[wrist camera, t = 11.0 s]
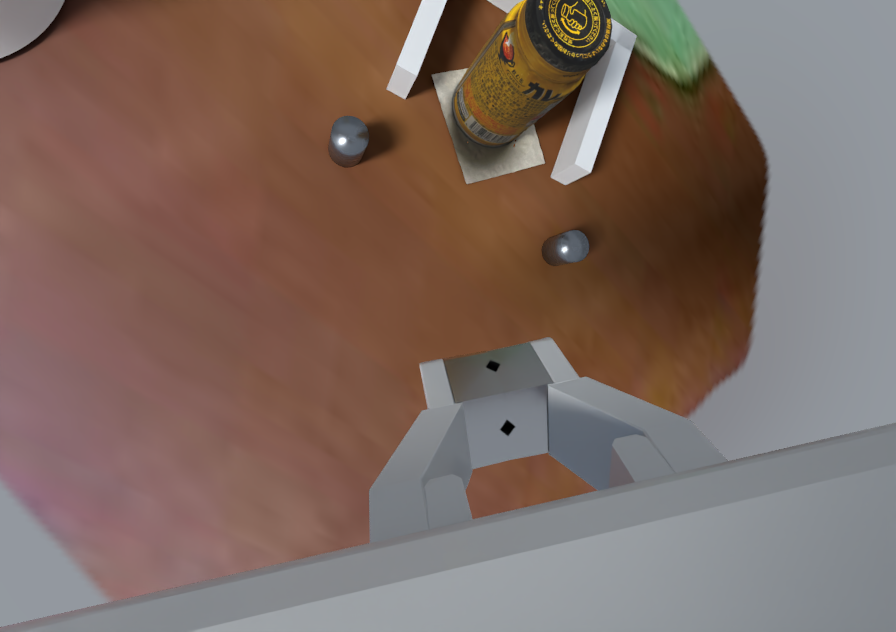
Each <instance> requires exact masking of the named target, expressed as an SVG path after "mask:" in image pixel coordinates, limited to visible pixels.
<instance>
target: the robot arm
mask: <svg viewBox="0 0 896 632" xmlns="http://www.w3.org/2000/svg"><path fill="white" fill-rule="evenodd" d="M63 3H64V0H0V58H2V57H5V56H7V55H10V54H12V53H14V52H16V51H18V50H19V49H21V48H23V47H25V46H26V45H28V44H29V43H30V42H32V41H33V40H35V39H36V38H37V37H38V36H39V35H40V34H42V33H43V32H44V31H45V30H46V29H47V27H48V26H49V25H50V24H51V23H52V21H53V20H54V19H55V17H56V16H57V14H58V12H59V11H60V9H61V7H62V5H63ZM420 370H421V376H422V381H423V386H424V392H425V397H426V402H427V408H428V410H423V411H421V413H420V414H419V416H418V417H417V419H416V420H415V422H414V423H413V425H412V426H411V428H410V429H409V431H408V432H407V434H406V435H405V437H404V438H403V440H402V442H401V443H400V445H399V446H398V448H397V449H396V451H395V452H394V454H393V455H392V457H391V458H390V460H389V461H388V463H387V464H386V466H385V467H384V469H383V470H382V472H381V473H380V475H379V476H378V478H377V479H376V481H375V482H374V484H373V485H372V487H371V488H370V490H369V511H370V543H368V544H363V545H359V546H355V547H350V548H346V549H341V550H337V551H333V552H328V553H324V554H320V555H315V556H311V557H306V558H302V559H298V560H293V561H289V562H285V563H280V564H276V565H271V566H267V567H263V568H258V569H254V570H250V571H245V572H241V573H236V574H232V575H228V576H223V577H219V578H215V579H210V580H206V581H201V582H197V583H193V584H188V585H184V586H179V587H175V588H171V589H166V590H162V591H157V592H153V593H149V594H144V595H140V596H135V597H131V598H127V599H122V600H118V601H114V602H109V603H105V604H100V605H96V606H92V607H87V608H83V609H79V610H74V611H70V612H65V613H61V614H57V615H52V616H48V617H43V618H39V619H35V620H30V621H26V622H21V623H17V624H13V625H8V626H4V627H0V632H896V423H892V424H888V425H884V426H879V427H875V428H871V429H866V430H862V431H857V432H853V433H849V434H844V435H840V436H836V437H831V438H827V439H822V440H819V441H814V442H809V443H805V444H801V445H797V446H792V447H788V448H784V449H779V450H775V451H771V452H767V453H763V454H758V455H753V456H749V457H744V458H740V459H736V460H731V461H728V460H727V459H726V458H725V457H724V456H723V455H722V454H721V453H720V452H719V450H718V449H717V448H716V447H715V446H714V445H713V444H712V443H711V442H710V441H709V440H708V438H707V437H706V436H705V435H704V434H703V433H702V432H701V431H700V430H699V429H698V428H697V426H696V425H695V424H694V423H693V422H692V421H691V420H688V419H686V418H684V417H681V416H679V415H676V414H674V413H672V412H669V411H667V410H665V409H662V408H660V407H657V406H655V405H653V404H650V403H648V402H645V401H643V400H641V399H638V398H636V397H633V396H631V395H629V394H626V393H624V392H621V391H619V390H617V389H614V388H612V387H609V386H607V385H605V384H602V383H600V382H597V381H595V380H593V379H590V378H588V377H583V378H580V377H579V376H578V375H577V373H576V372H575V370H574V369H573V367H572V366H571V365H570V363H569V362H568V360H567V359H566V358H565V356H564V355H563V353H562V352H561V350H560V349H559V348H558V346H557V345H556V343H555V342H554V340H553V339H552V338H550V337H547V338H543V339H539V340H535V341H530V342H528V343H523V344H519V345H514V346H509V347H505V348H500V349H495V350H490V351H483V352H477V353H471V354H466V355H460V356H454V357H449V358H443V360H442V359H437V360H432V361H427V362H422V363H420ZM543 453H549V455H551V456H552V457H553V458H555V459H556V460H558V461H559V462H560V463H562V464H563V465H564V466H566V467H567V468H568V469H570V470H571V471H572V472H574V473H575V474H576V475H578V476H579V477H580V478H582V479H583V480H585V481H586V482H587V483H589V484H590V485H591V486H593V487H594V488H595V489H597V490H598V491H595V492H590V493H586V494H582V495H577V496H573V497H569V498H564V499H560V500H555V501H551V502H547V503H542V504H538V505H534V506H529V507H525V508H521V509H516V510H512V511H508V512H503V513H499V514H494V515H490V516H486V517H481V518H477V519H473V520H472V516H471V512H470V508H469V504H468V500H467V497H466V493H465V490H466V488H467V485H468V482H469V479H470V477H471V474H472V469H475V468H479V467H483V466H487V465H491V464H495V463H499V462H503V461H507V460H512V459H517V458H522V457H528V456H533V455H538V454H543Z"/></svg>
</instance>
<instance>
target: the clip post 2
mask: <svg viewBox="0 0 896 632" xmlns="http://www.w3.org/2000/svg"><path fill="white" fill-rule="evenodd" d="M588 251H589V242H588V239H587V237H586V236H585V235H584V234H583V233H582V232H580V231H578V230H572V231H569V232H565V233H562V234H559V235H556V236H553V237H550V238H548V239H547V240H546V241H545V242H544V243H543V246H542V256H543V258H544V260H545V261H546V262H547V263H548V264H550V265H552V266H559V265H563V264H568V263H573V262H578V261H581V260H583V259H584V258H585V257H586V256H587V254H588Z"/></svg>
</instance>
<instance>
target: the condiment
mask: <svg viewBox="0 0 896 632" xmlns="http://www.w3.org/2000/svg"><path fill="white" fill-rule="evenodd" d="M611 32H612V22H611V15H610V11H609V9H608V6H607V4H606V1H605V0H523V1H521V2H519V3H517V4H516V5H515V6H514V7H513V8H512V9H511V10H510V11H509V13H507V14H506V16H505V18H504V19H503V20H502V21H501V22H500V24H499V25H498V27H497V28H496V30H495V32H494V33H493V35H492V36H491V37H490V39H489V40H488V41H487V42H486V44H485V45H484V47H483V48H482V49H481V51H480V52H479V53H478V55H477V57H476V58H475V60H473V62H472V64H471V66H470V67H469V68H467V69H462V70H455V71H448V72H443V73H437V74H433V75H432V78H433V81H434V85H435V88H436V91H437V95H438V98H439V101H440V103H441V107H442V111H443V114H444V117H445V119H446V124H447V126H448V129H449V132H450V135H451V137H452V140H453V143H454V147H455V150H456V154H457V157H458V160H459V163H460V166H461V168H462V171H463V174H464V178H465V181H466V184H469V183H473V182H478V181H481V180H485V179H489V178H492V177H497V176H500V175H504V174H508V173H512V172H515V171H519V170H522V169H526V168H530V167H533V166H537V165H540V164H544V163H545V161H544V158H543V153H542V150H541V148H540V144H539V139H538V137H537V134H536V131H535V126H534V123H535V122H536V121H537V120H538V119H540V118H541V117H543V115H545V114H546V113H547V112H548V111H550V110H551V109H552V108H553V107H555V106H556V105H557V104H558V103H559V102H561V101H562V100H563V99H564V98H565V97H567V96H568V95H569V94H570V93H571V92H573V91H574V90H575V89H576V88H577V87H578V86H579V84H580V83H581V81H582V80H583V78H584V76H585V74H586V73H587V72H588V71H589V70H590V69H591V67H593V66H595V65H596V64H597V63H598V61H600V59H601V58H602V57H603V56H604V54H605V53H606V51H607V50H608V48H609V46H610V39H611ZM515 139H517V141H516V142H515V141H514V140H515ZM467 142H468V143H467ZM514 143H515V147H513V144H514Z"/></svg>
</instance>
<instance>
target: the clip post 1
mask: <svg viewBox="0 0 896 632" xmlns="http://www.w3.org/2000/svg"><path fill="white" fill-rule="evenodd" d="M368 141H369V132H368V129H367V127H366V125H365V124H364V123H363V122H362V121H361V120H359V119H358V118H356V117H353V116H344V117H341V118H339V119H338V120H336V122H335V123H334V124H333V127H332V131H331V136H330V141H329V147H328V150H329V155H330V157H331V159H332V160H333V161H334V162H335V163H336V164H338V165H340V166H342V167H353V166H355V165H357V164H358V163H359V162H360V160H361V158H362V156H363V154H364V151H365V149H366V147H367V144H368Z"/></svg>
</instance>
